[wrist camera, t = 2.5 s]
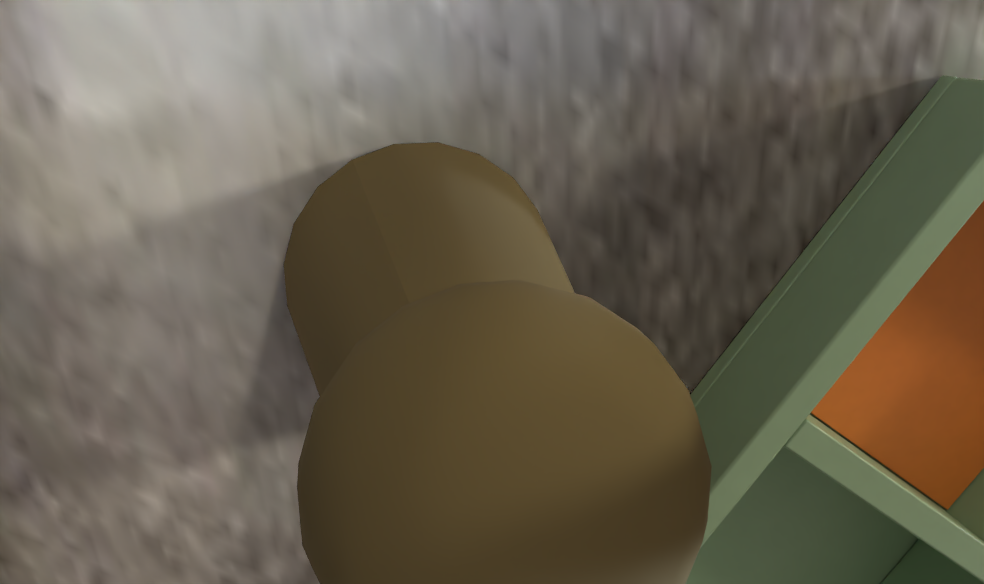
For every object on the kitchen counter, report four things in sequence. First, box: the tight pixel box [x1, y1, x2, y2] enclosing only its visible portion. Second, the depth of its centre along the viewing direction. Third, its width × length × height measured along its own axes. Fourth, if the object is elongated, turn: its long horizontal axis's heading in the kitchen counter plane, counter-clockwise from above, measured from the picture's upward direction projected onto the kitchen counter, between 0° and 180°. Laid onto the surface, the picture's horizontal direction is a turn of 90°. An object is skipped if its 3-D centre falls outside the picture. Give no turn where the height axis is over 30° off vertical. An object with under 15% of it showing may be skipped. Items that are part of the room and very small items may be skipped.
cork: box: [284, 142, 712, 584], centre depth 15 cm, size 6×6×11 cm
